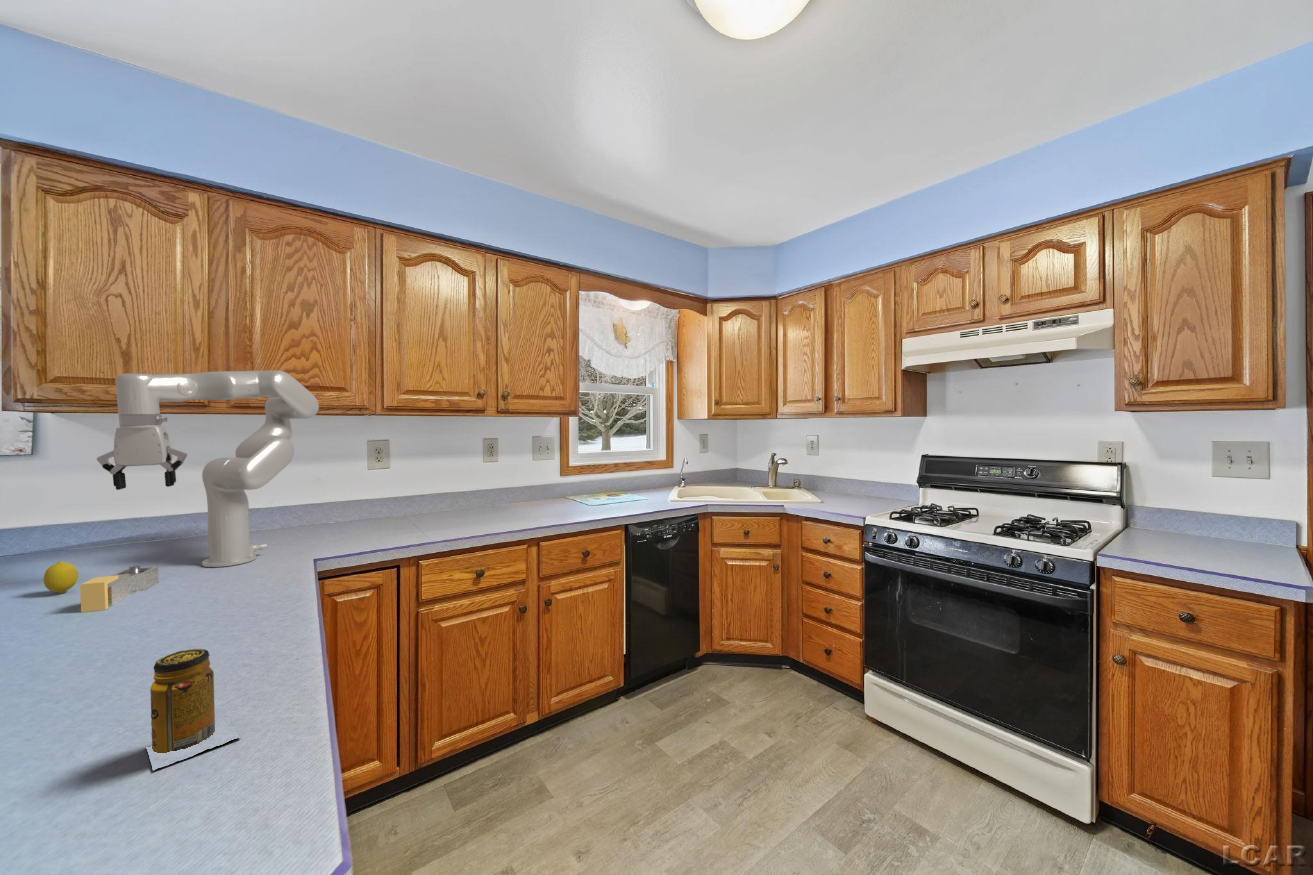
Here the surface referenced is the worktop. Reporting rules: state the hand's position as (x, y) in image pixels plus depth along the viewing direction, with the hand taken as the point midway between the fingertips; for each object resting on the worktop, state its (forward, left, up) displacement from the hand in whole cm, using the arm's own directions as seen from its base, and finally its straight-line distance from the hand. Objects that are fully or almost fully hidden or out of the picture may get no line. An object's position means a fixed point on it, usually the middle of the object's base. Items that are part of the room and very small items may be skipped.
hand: (146, 487), depth 133 cm
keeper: (+13, +11, -25) cm, 31 cm away
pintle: (+3, +1, -25) cm, 26 cm away
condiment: (+35, +92, -26) cm, 102 cm away
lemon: (+12, -10, -26) cm, 30 cm away
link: (+7, +5, -25) cm, 27 cm away
